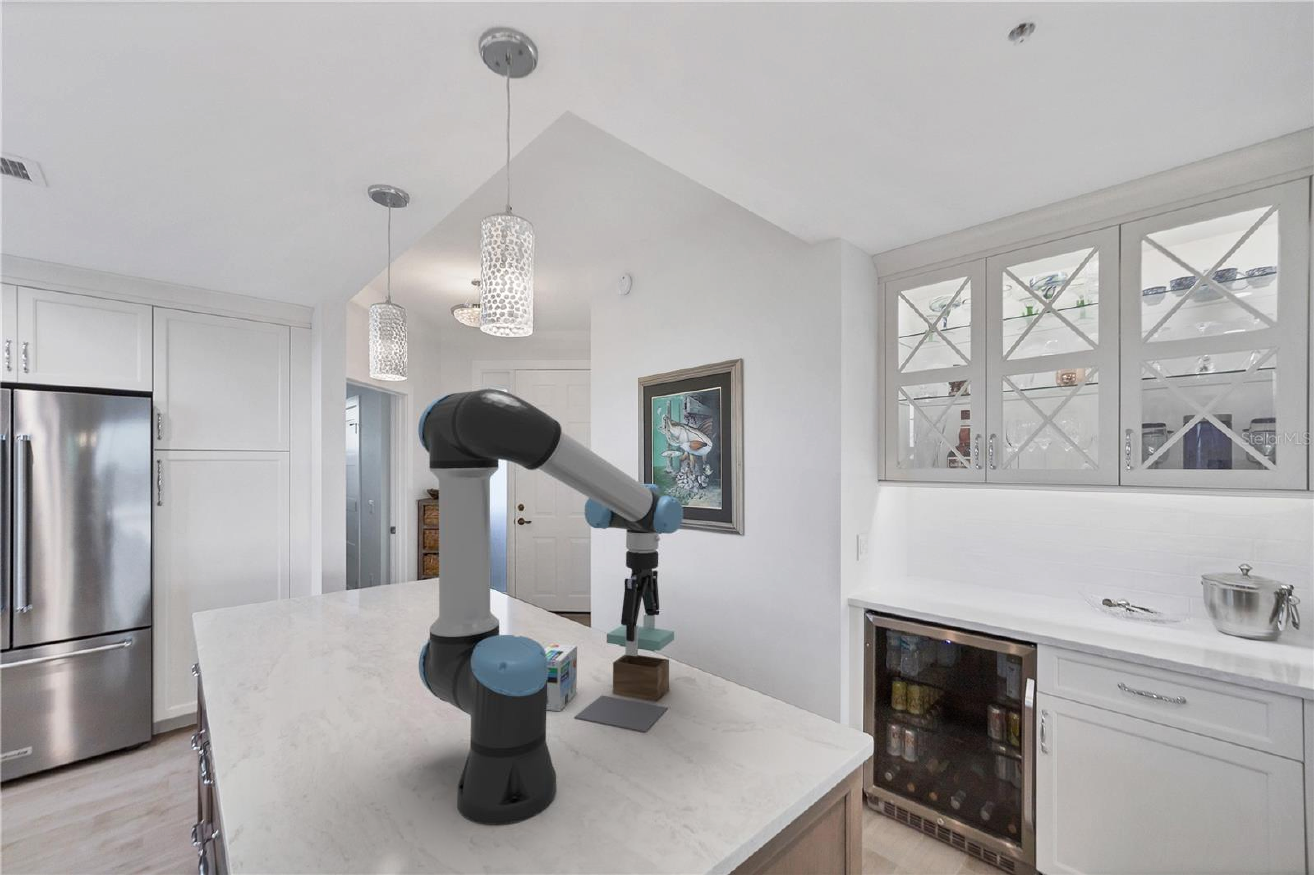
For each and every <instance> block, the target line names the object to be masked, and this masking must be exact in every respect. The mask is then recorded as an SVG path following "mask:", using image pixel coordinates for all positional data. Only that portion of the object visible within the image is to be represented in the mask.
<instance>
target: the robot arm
mask: <svg viewBox="0 0 1314 875" xmlns="http://www.w3.org/2000/svg"><path fill="white" fill-rule="evenodd" d="M417 433H418V437H419V438H418V439H419V442H420V443H421V446H422V447H423V448H424V450H425V451H426V452H427V453H428V454H429V455H428V456H429V466H428V468H429V471H430V472H431V473H432V474H433V475H434V476H435V477H436V479H437V480H438V590H439V591H438V594H439V595H438V602H439V603H438V617H437V619H436V620H435V621H434V622H433V623H431V625H430V627H429V638H428V639H427V642H426V643H425V645H423V647H422V649H421V650H420V654H419V659H418V672H419V677H420V679H421V682H422V683H423V685H424V686H425V688H426V689H427V690H428V691H429V692H430V693H431V694H432V695H433V697H436V698H438V699H439V700H441V701H443V702H445V703H448V704H450V705H452V706H453V707H455V708H457V709H459V710H460V711H462V712H464V713H465V714H467V715H469V716H470V740H469V741H470V742H469V743H470V745H469V752H468V755H467V758H466V759H465V763H464V766H463V770H462V773H461V775H460V779H459V782H458V784H457V791H456V800H457V801H456V806H457V809H458V810H459V813H461V815H462V816H464V817H465V818H467V819H468V820H471V821H473V822H476V823H481V824H485V825H486V824H487V825H488V824H489V825H502V824H511V823H515V822H519V821H522V820H526V819H528V818H531V817H533V816H535V815H537V814H538V813H540V812H542V811H543V810H545V809H546V808H547V807H548V806H549V805H550V804H551V803H552V802H553V801H554V799H555V797H556V793H557V774H556V773H557V772H556V770H555V767H554V765H553V762H552V757H551V754H550V750H549V747H548V745H547V744H548V743H547V711H548V710H547V679H548V667H547V657H546V652H545V650H544V649H545V648H544V647H543V646H542V645H541V643H539V642H538V641H536V640H535V639H532V638H530V637H526V636H523V635H519V636H515V634H501V635H500V619H499V618H498V617H497V616H495V615H494V614H493V613H492V612H491V486H490V485H491V484H490V483H491V477H492V476H494V474H495V473H496V472H497V471H498V470H499V461H500V460H502V461H507V462H511V463H514V464H517V465H518V466H521V467H522V468H524V469H526V470H528V471H536V470H538V469H539V470H540V471H542V472H544V473H545V474H547V475H548V476H551V477H552V478H553V479H556V480H557V481H559V482H561V483H563V484H564V485H566V486H568V487H570V488H571V489H573V490H575V491H577V492H578V493H580V494H582V495H584V496H585V497H587V500H586V502H585V504H584V518H585V520H586V522H587V524H588V525H589V526H590V527H592V528H594V529H602V530H603V529H604V530H605V529H621V530H626V534H625V535H626V536H625V537H626V538H625V541H626V542H625V547H626V548H625V549H627V551H626V552H625V566H626V568H629V569H630V570H631V575H630V578H625V579H624V594H623V601H622V609H621V610H622V611H621V619H620V624H621V626H622V625H626V647H625V654H624V655H631V656H638V655H639V649H638V626H639V625H637V624H638V618H639V614H640V609H641V604H642V603H643V608H644V612H645V614H643V620H642V621H643V622H642V623H643V624H642V627H647V628H654V629H656V616H659V615H660V597H659V585H658V575H659V574H658V573H659V572H658V570H654V569H657V568H658V567H659V552H658V551H657V550H658V549H659V542H660V541H661V537H660V536H659V535H661V534H670V535H671V534H673V533H676V532H677V531H678V530H679V528H680V527H681V525H682V522H683V519H684V509H683V506H682V503H681V501H680V500H679V499H677V498H676V497H674V496H669V495H660V489H659V488H660V487H659V486H658V485H657V484H654V483H641V482H639V481H637V480H636V479H635V478H633V477H631V476H630V475H629V474H627V473H625V472H624V471H623V470H620V469H619V468H618V467H616V466H615V465H613V463H610V462H609V461H607V460H606V459H604V458H602V456H599V455H598V454H596V453H595V452H594V451H593V450H590V449H589V448H588V447H586V446H584V445H583V444H582V443H580V442H578V441H577V440H575V439H574V438H573V437H571V436H570V435H568V434H566V433H565V432H564V431H563V427H562V425H561V423H560V422H559V421H557V420H556V419H554V418H553V417H552V416H550V415H549V414H547V413H545V412H544V411H543V410H541V409H539V408H538V407H536V406H534V405H533V404H532V403H529V402H527V401H526V400H524V399H522V398H520V397H519V396H516V395H514V394H512V393H509V392H507V391H504V390H500V389H495V388H486V389H485V388H484V389H479V390H473V391H464V392H456V393H455V392H453V393H450V394H446V395H444V396H442V397H439V398H437V399H435V400H433V401H432V402H431V403H430V404H429V405H428V406H426V408H425V409H424V411H423V412H422V414H421V416H420V418H419V422H418V432H417Z"/></svg>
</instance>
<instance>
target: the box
mask: <svg viewBox="0 0 1314 875" xmlns="http://www.w3.org/2000/svg"><path fill="white" fill-rule="evenodd" d="M669 691H670V659H667V658H660V657H655V656H654V657H653V656H648V655H641V654H638V656H631V655H625V654H623V655H622V656H620V657H619V658H617V659H616V660H614V661H613V662H612V694H613V695H618V696H625V697H628V698H629V697H630V698H635V699H641V700H646V701H651V702H652V701H653V702H656V703H657V702H659V701H660V700H661V699H662V698H663V697H664V696H665V695H666V694H667V693H668V692H669Z"/></svg>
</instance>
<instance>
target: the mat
mask: <svg viewBox="0 0 1314 875" xmlns="http://www.w3.org/2000/svg"><path fill="white" fill-rule="evenodd" d="M668 709H669V707H668V706H663V705H658V704H652V703H651V704H650V703H645V702H640V701H635V700H628V699H624V698H618V697H613V696H607V695H600V696H599V697H598V698H596V699H595V700H594V701H593V702H591V703H590V704H589V705H588V706H586V707H585V708H583V709H582V710H581V711H580V712H579V713H578V714H576V715H575V716H574V717H573V718H574V719H575V720H580V721H586V722H591V723H594V724H595V723H596V724H601V725H606V726H610V727H614V728H621V729H626V730H630V731H636V732H640V733H645V734H646V733H647V732H648V730H650V729H651V728H652V727H653V726H654V725H655V723H656V722H658V720H659V719H660V718H661V717H662V716H663V715H664V713H665V712H667V711H668Z"/></svg>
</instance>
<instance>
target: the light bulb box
mask: <svg viewBox="0 0 1314 875" xmlns="http://www.w3.org/2000/svg"><path fill="white" fill-rule="evenodd" d="M544 650H545V652H546V657H547V667H548V679H547V710H546V711H553V712H561V711H562V710H563V709H564V708H565V707H566V706H567V704H568V703H570V701H571V700H573V698H574V697H575V696H576V695H577V689H578V688H577V687H578V686H577V678H578V674H577V672H578V670H577V669H578V646H577V645H568V644H567V645H566V644H556V643H550V644H549V645H548V646H547V647H545V648H544Z"/></svg>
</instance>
